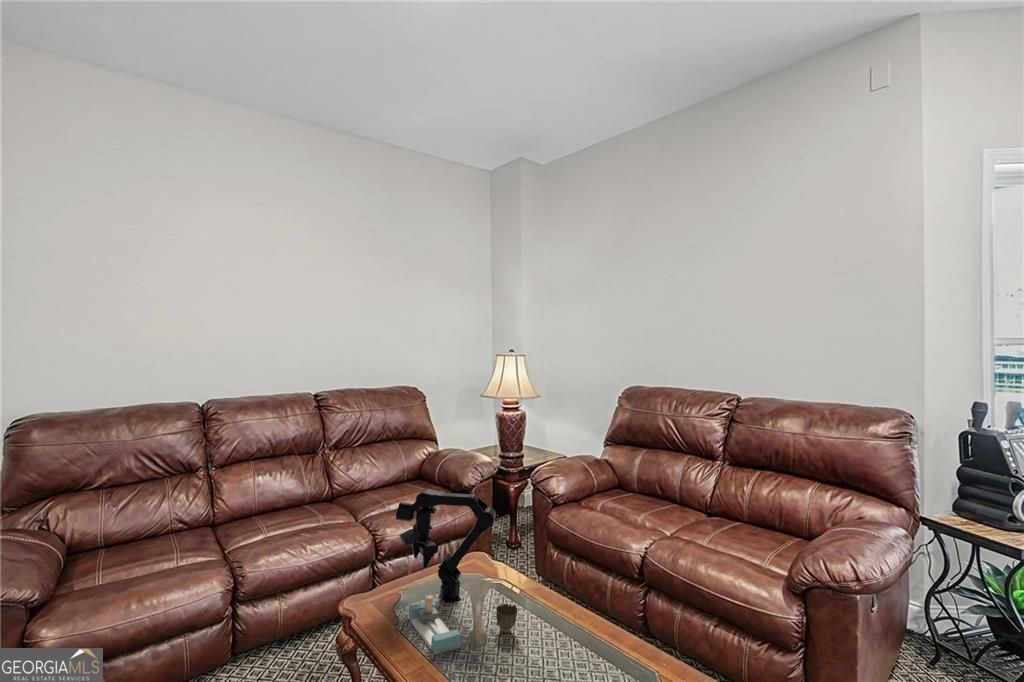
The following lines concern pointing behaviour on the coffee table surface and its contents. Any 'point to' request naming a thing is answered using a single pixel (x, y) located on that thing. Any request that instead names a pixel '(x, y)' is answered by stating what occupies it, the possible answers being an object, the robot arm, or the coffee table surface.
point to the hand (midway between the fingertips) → (420, 562)
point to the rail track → (434, 632)
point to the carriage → (428, 610)
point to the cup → (506, 617)
